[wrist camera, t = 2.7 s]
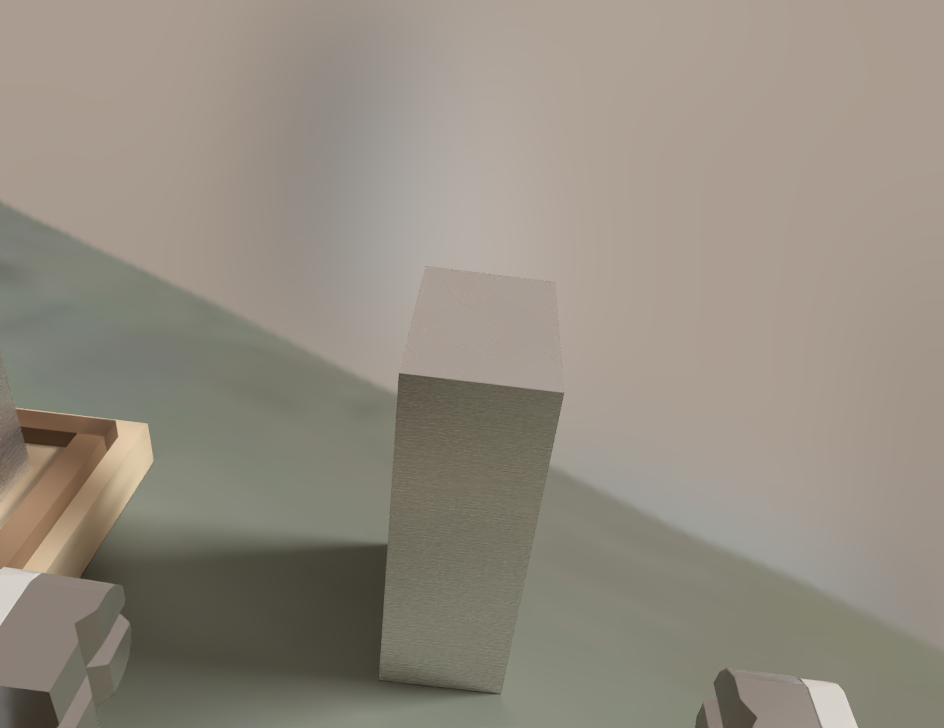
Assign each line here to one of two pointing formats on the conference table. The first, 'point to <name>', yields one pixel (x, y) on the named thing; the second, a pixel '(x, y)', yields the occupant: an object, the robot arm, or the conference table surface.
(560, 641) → the conference table surface
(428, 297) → the aluminium billet
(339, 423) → the conference table surface
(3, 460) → the billet
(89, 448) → the wooden compartment tray
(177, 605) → the conference table surface
